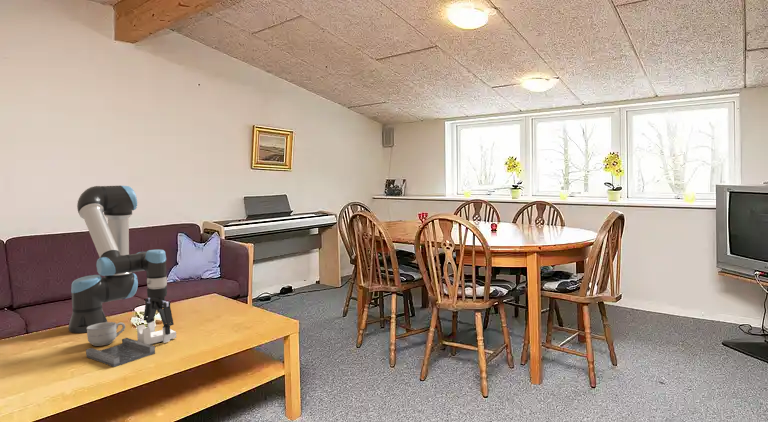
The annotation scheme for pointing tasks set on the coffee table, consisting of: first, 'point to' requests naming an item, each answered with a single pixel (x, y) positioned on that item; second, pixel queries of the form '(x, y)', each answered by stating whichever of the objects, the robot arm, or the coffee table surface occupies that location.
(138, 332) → the bracket
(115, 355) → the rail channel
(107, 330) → the teacup
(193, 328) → the coffee table surface
